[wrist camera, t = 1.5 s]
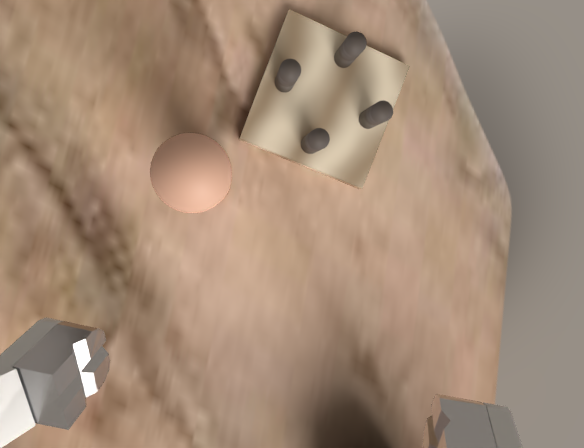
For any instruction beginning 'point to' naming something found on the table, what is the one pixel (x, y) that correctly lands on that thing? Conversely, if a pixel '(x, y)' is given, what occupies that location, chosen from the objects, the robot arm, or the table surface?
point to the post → (191, 172)
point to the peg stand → (324, 100)
